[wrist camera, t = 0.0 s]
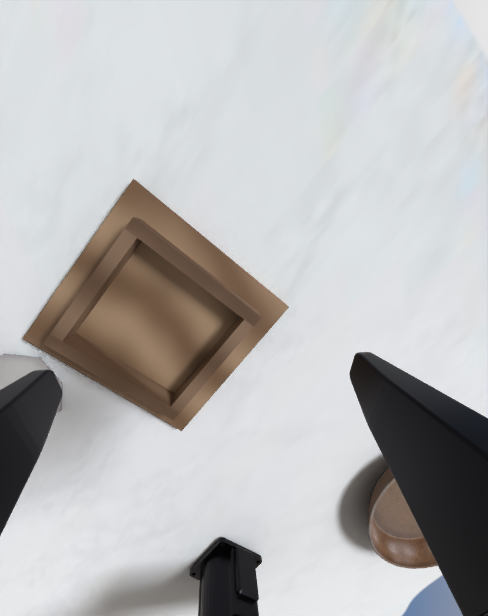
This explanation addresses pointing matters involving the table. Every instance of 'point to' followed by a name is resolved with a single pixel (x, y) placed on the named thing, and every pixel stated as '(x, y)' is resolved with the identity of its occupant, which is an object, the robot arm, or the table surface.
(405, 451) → the robot arm
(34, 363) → the flask
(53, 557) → the table surface
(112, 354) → the holder
